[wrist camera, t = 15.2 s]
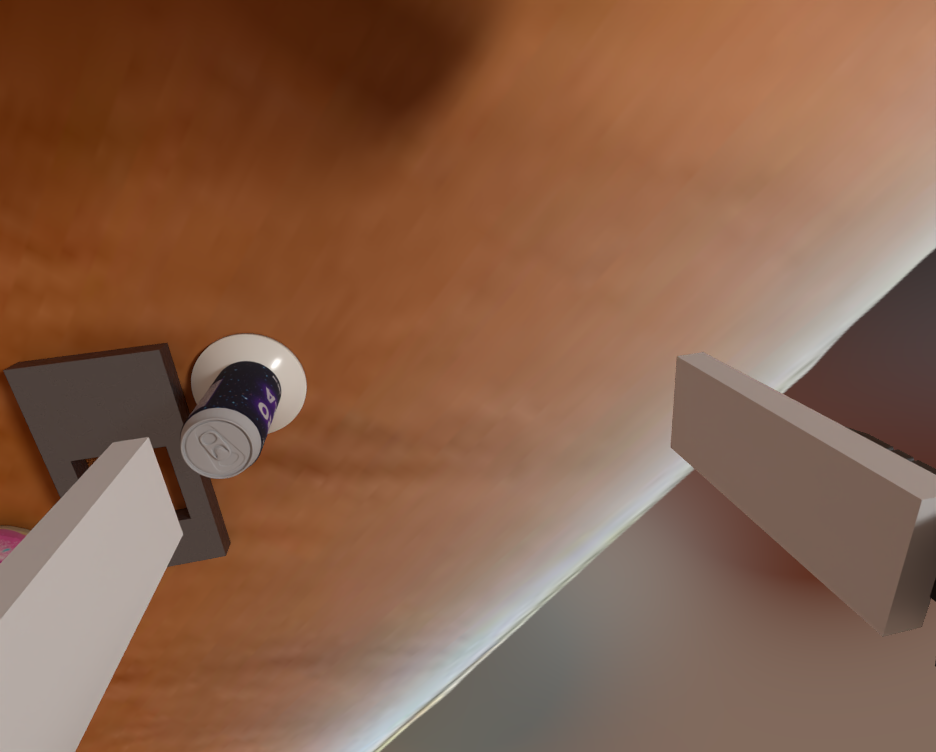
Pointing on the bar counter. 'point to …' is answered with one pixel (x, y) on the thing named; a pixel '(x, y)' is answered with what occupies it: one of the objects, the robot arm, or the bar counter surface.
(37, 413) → the grey board with hole
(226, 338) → the coaster
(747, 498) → the robot arm
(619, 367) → the bar counter surface
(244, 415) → the beverage can
